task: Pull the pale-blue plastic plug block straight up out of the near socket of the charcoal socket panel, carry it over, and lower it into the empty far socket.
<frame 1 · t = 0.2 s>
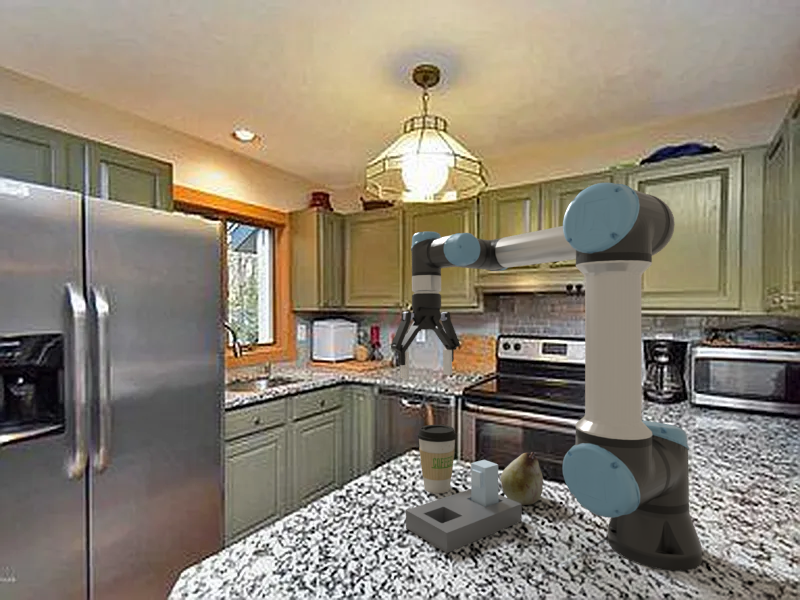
hand: (426, 376, 115), 27 cm above the countertop, fingers open, 13 cm apart
plug: (484, 516, 95), resting on socket panel
coffee cup: (437, 491, 111), on the countertop
socket panel: (464, 526, 92), on the countertop
fruit: (521, 502, 104), on the countertop
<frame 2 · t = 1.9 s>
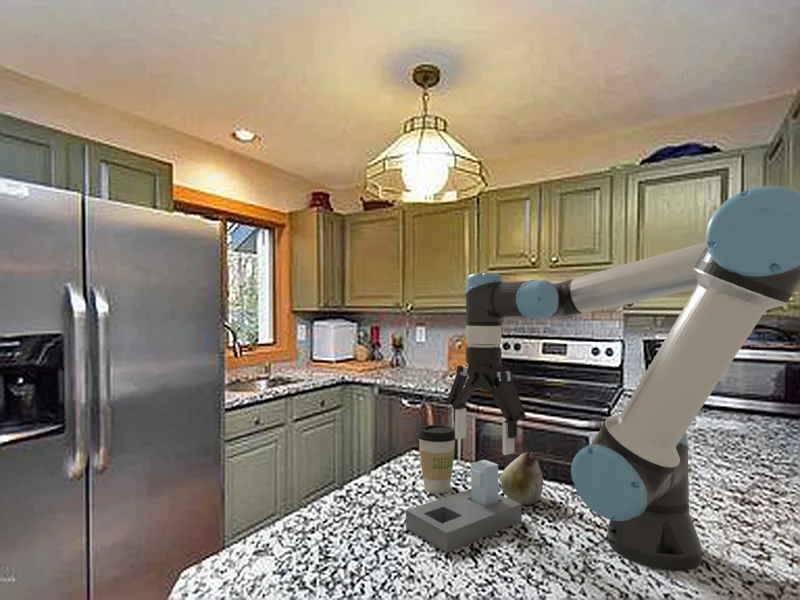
hand: (483, 445, 96), 15 cm above the countertop, fingers open, 13 cm apart
nothing on the countertop moved.
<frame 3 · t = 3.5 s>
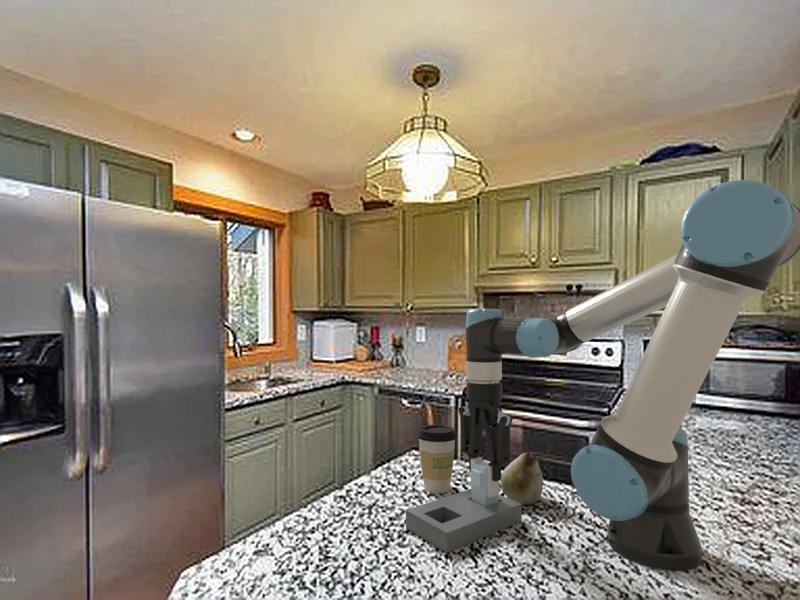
hand: (484, 491, 95), 6 cm above the countertop, fingers closed on plug, 4 cm apart
plug: (485, 516, 95), resting on socket panel, touching gripper
everything else where it was.
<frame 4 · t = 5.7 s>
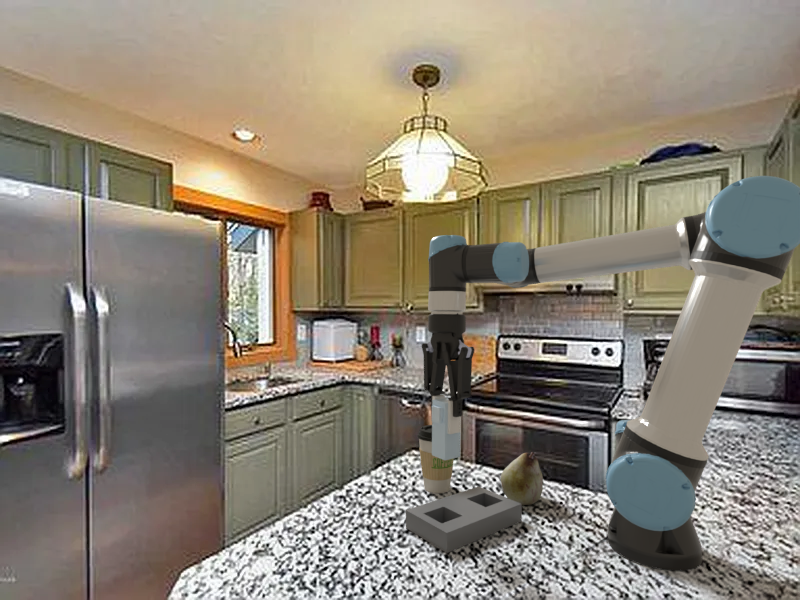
hand: (446, 430, 90), 20 cm above the countertop, fingers closed on plug, 4 cm apart
plug: (445, 455, 90), point 15 cm above the countertop, touching gripper
everything else where it was.
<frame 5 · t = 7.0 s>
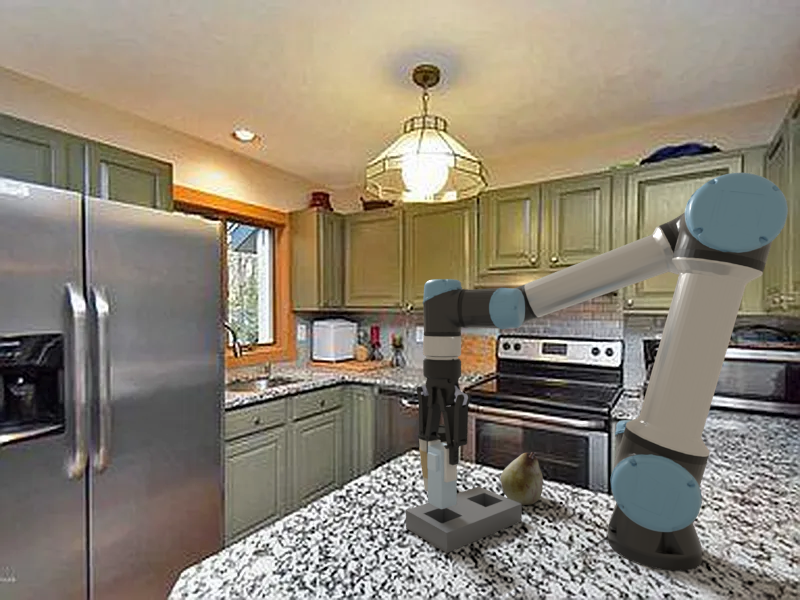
hand: (442, 476, 88), 11 cm above the countertop, fingers closed on plug, 4 cm apart
plug: (442, 503, 88), point 6 cm above the countertop, touching gripper
everything else where it was.
when the fingers open (7 cm above the countertop, at t = 8.1 s): plug stays where it is, resting on socket panel.
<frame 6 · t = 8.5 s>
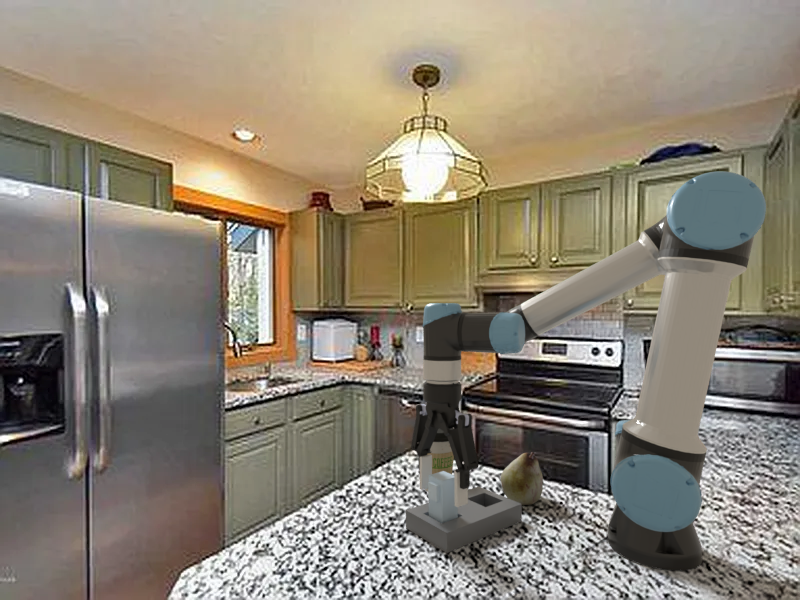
hand: (442, 495, 88), 8 cm above the countertop, fingers open, 9 cm apart
plug: (443, 532, 88), resting on socket panel
everything else where it was.
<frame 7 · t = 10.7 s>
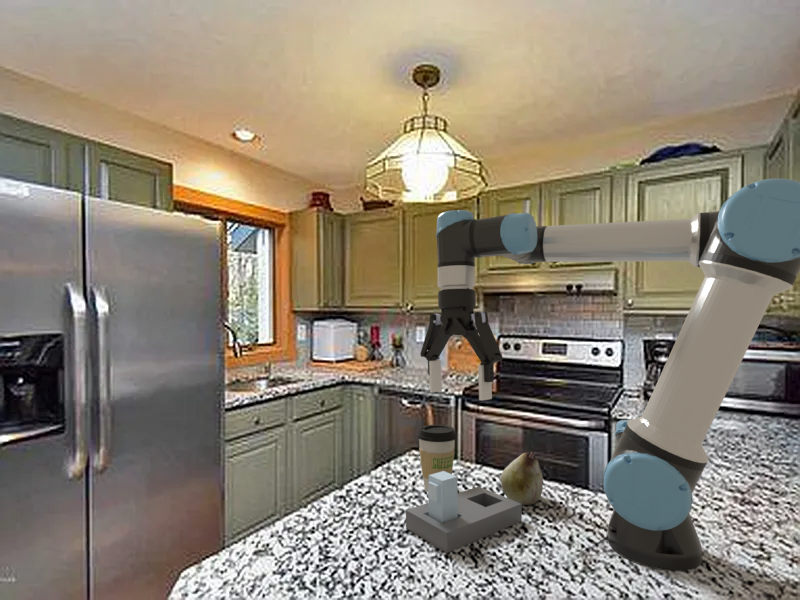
hand: (459, 395, 90), 27 cm above the countertop, fingers open, 13 cm apart
nothing on the countertop moved.
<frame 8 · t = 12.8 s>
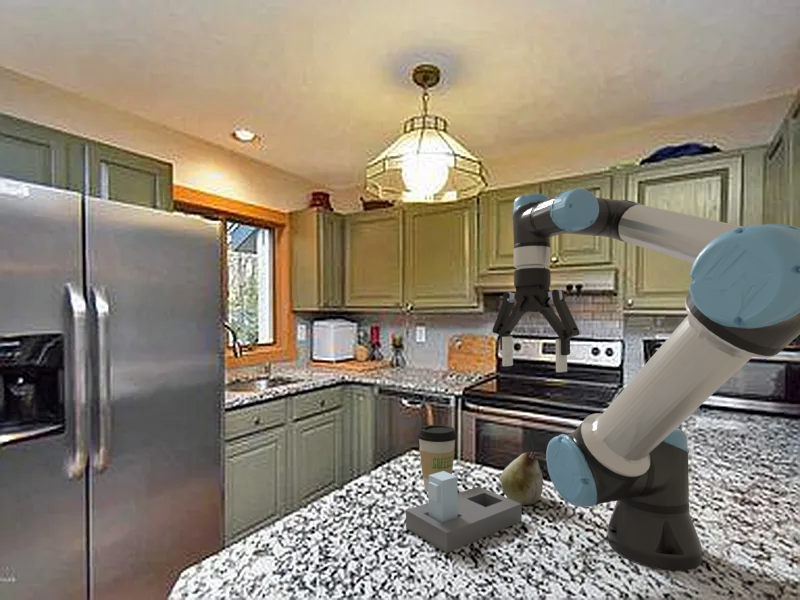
hand: (533, 368, 95), 32 cm above the countertop, fingers open, 13 cm apart
nothing on the countertop moved.
at the end: plug 0.1 cm from the target spot on the socket panel, point 0.5 cm above the socket panel's base; plug tilted 0°; the gripper is holding nothing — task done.
